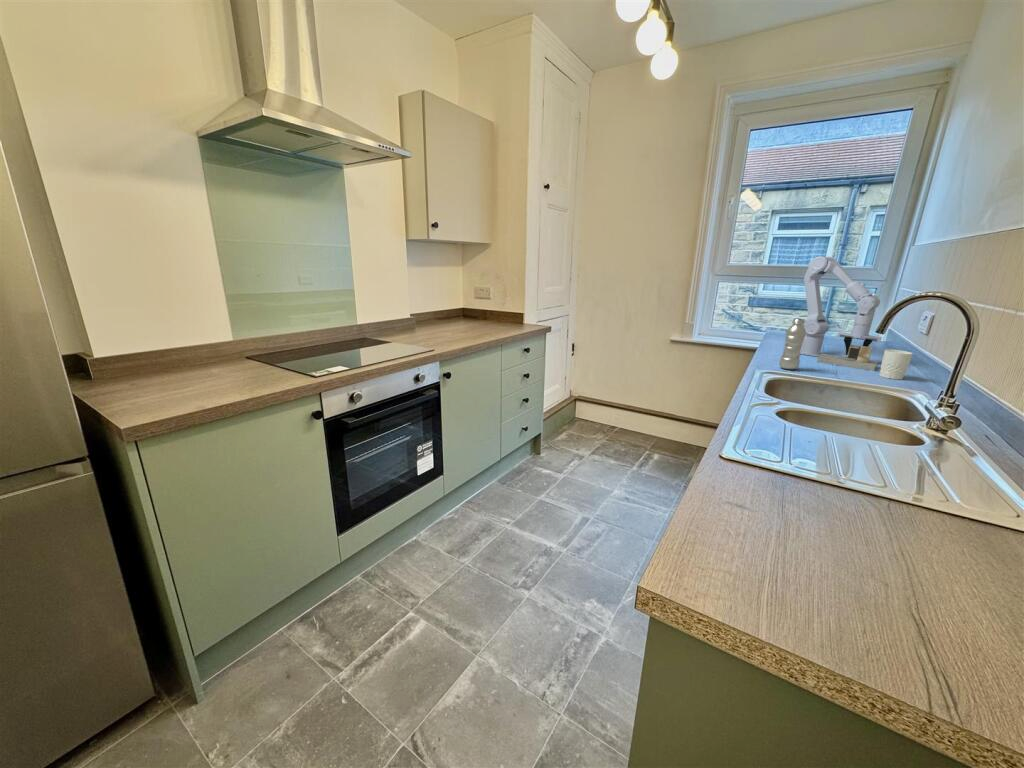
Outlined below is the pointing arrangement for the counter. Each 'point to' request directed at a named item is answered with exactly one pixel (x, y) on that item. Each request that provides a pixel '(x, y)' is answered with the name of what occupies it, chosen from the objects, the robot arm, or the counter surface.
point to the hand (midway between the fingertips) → (853, 355)
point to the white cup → (895, 363)
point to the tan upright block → (863, 354)
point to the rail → (846, 362)
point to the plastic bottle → (793, 345)
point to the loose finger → (852, 351)
